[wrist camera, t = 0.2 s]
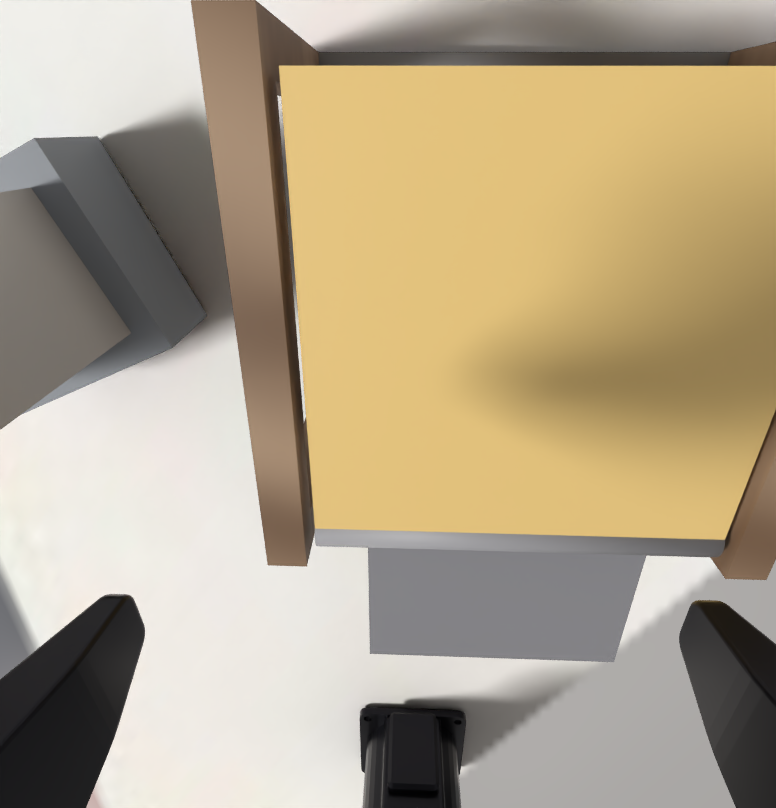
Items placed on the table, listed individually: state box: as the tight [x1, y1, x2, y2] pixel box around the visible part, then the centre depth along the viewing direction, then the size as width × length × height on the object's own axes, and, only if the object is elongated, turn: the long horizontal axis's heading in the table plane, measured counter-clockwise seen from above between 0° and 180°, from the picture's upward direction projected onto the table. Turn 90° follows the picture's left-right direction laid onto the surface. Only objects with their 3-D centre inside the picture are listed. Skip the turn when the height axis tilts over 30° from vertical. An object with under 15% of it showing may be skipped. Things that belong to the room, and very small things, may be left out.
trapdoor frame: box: [191, 0, 776, 580], centre depth 16 cm, size 14×15×8 cm
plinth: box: [0, 136, 207, 414], centre depth 19 cm, size 7×7×4 cm
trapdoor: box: [279, 66, 776, 662], centre depth 16 cm, size 18×12×4 cm, turn 0°
